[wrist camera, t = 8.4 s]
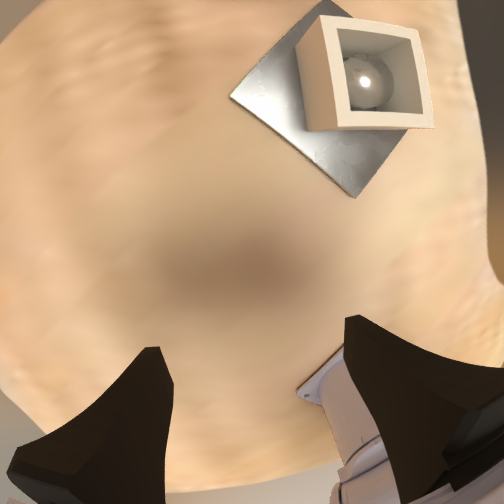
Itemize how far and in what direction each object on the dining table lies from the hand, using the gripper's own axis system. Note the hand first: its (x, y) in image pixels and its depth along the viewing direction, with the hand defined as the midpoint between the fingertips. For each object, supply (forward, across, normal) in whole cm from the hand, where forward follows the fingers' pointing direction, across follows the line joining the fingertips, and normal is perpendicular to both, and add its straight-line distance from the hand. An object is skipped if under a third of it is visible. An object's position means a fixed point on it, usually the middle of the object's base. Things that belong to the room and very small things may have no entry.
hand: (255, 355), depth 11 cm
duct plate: (+9, -8, -11) cm, 16 cm away
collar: (+9, -8, -11) cm, 16 cm away
